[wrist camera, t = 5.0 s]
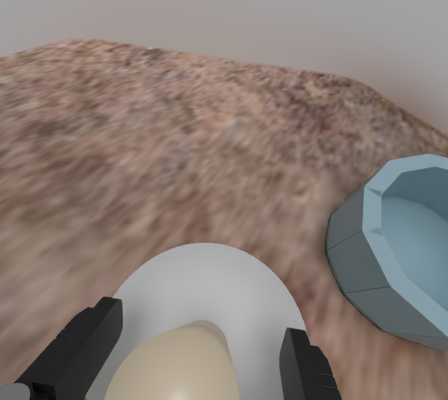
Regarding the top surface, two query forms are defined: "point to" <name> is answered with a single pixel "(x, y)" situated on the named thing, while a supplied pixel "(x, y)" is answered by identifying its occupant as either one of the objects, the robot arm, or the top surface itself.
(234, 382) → the lid
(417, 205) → the bowl
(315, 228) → the top surface
